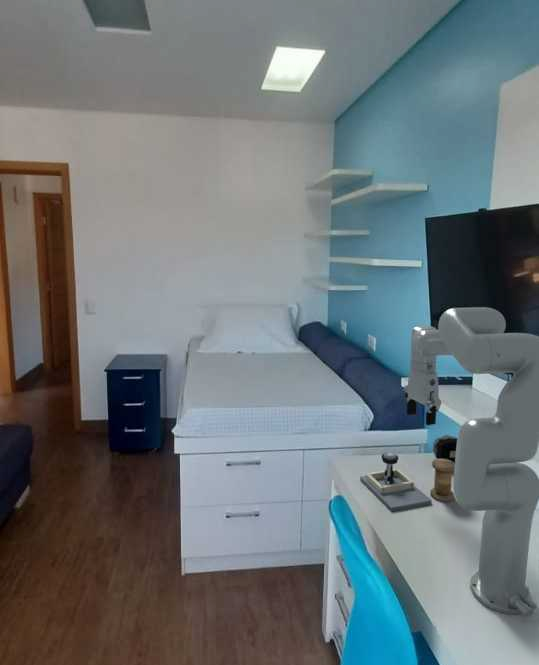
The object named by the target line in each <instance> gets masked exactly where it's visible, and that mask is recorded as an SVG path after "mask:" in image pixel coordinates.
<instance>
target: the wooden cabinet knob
mask: <svg viewBox="0 0 539 665" xmlns="http://www.w3.org/2000/svg"><path fill="white" fill-rule="evenodd" d="M431 463H432V464H431V466H432V468H434V470H435V471H434V483H433V484H434V485H433V488H431V489H430V497H431V498H432V499H434V500H436V501H439V502H444V503H450V502H452V501H454V498H455V493H454V491H453V490H452V482H453V481H452V479H453V478H452V477H453V472H454V467H455V463H454V462H453V461H450V460H447V459H436V458H435V459H433V460H432V462H431Z"/></svg>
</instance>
